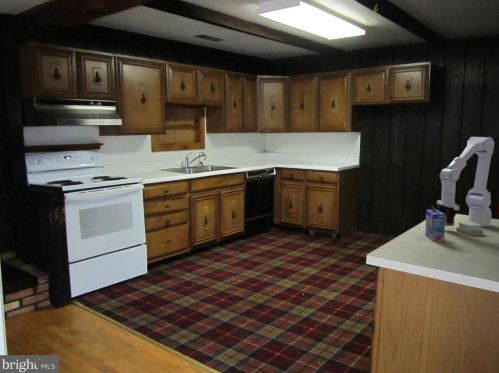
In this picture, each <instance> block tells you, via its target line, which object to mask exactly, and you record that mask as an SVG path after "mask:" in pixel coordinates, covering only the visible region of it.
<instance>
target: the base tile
mask: <svg viewBox="0 0 499 373" xmlns="http://www.w3.org/2000/svg"><path fill="white" fill-rule="evenodd" d="M455 229H456V232H457V233H460V234H463V235H465V236H466V237H467V236H469V237H470V236H484V233H485V232H484V230H482V229H481V230H478V231H466V230H464V229H461V228H459V226H458V227H457V226H456V228H455Z"/></svg>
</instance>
